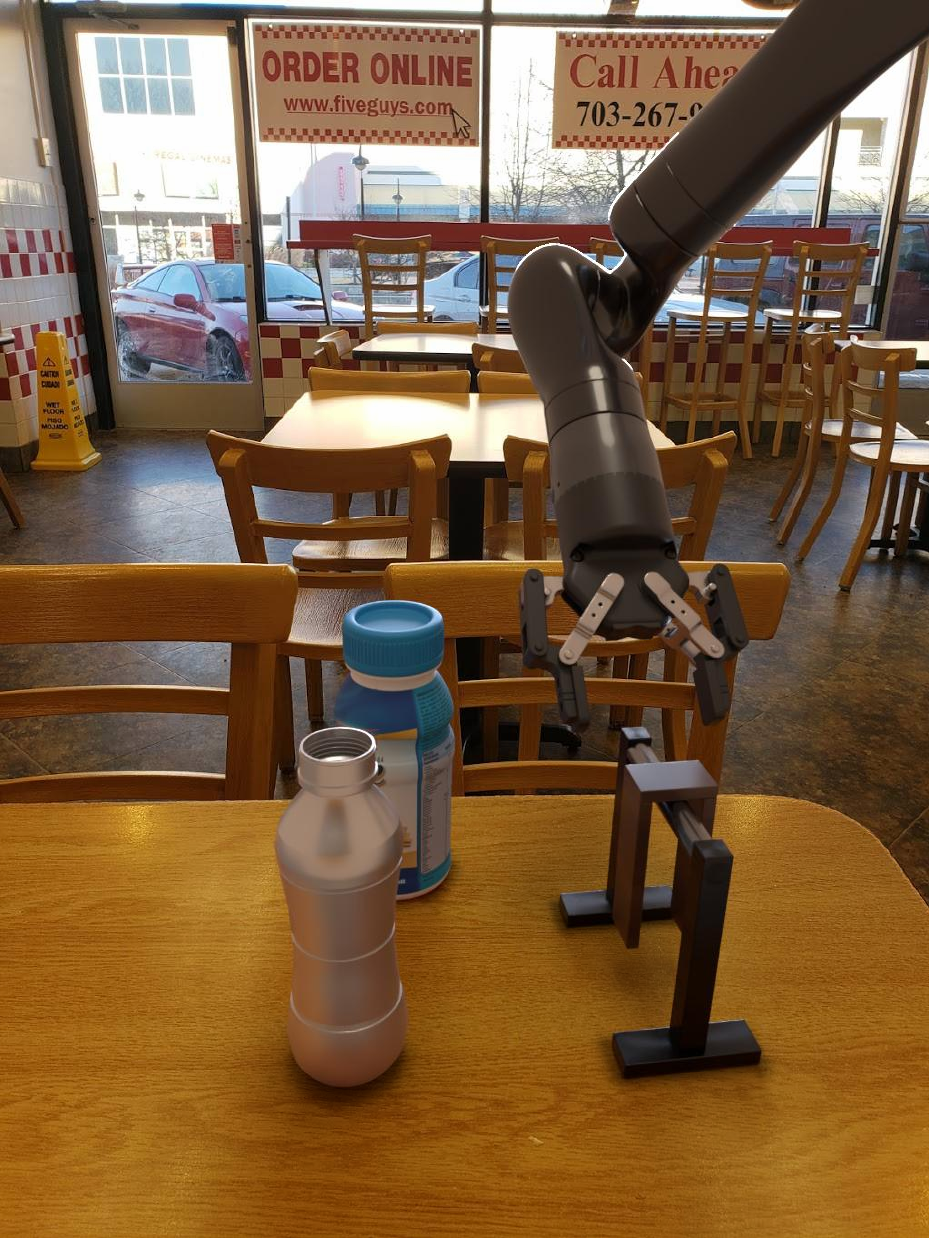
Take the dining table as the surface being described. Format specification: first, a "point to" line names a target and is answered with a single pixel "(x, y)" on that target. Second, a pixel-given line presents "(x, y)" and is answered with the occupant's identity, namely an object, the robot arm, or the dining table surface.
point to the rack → (704, 915)
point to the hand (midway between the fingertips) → (649, 726)
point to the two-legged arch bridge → (634, 833)
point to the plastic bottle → (342, 911)
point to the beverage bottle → (404, 726)
